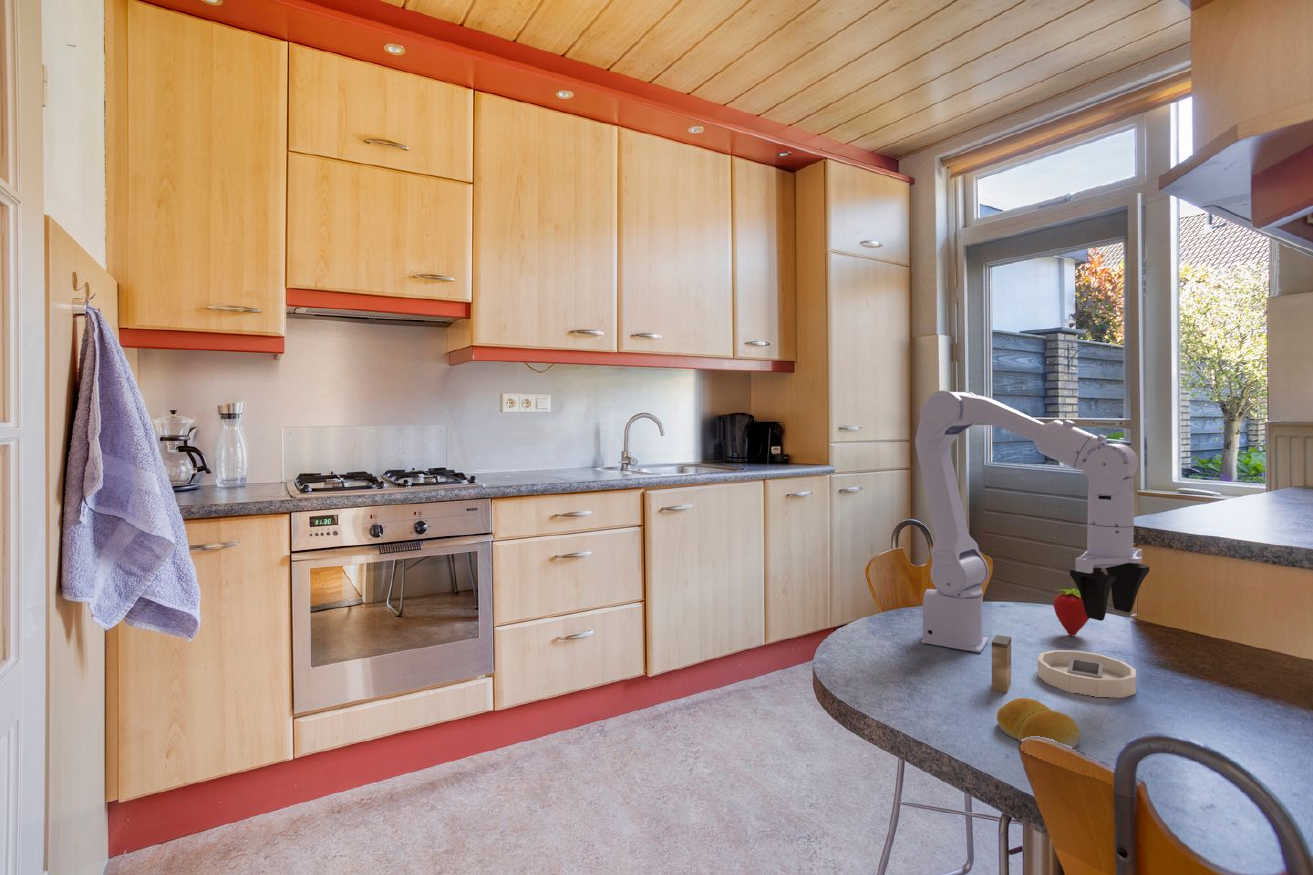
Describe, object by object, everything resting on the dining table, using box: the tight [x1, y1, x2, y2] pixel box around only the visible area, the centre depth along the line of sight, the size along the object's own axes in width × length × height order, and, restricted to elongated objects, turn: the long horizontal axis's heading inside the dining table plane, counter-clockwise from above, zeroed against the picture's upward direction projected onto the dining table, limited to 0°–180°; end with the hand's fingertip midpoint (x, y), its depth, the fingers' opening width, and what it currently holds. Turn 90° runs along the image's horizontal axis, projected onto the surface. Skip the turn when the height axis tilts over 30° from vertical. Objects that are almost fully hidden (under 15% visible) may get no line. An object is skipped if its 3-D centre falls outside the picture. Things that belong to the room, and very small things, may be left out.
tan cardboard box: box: [991, 634, 1012, 694], centre depth 99 cm, size 2×4×7 cm, turn 145°
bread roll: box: [996, 697, 1081, 749], centre depth 84 cm, size 8×9×4 cm
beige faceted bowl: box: [1037, 649, 1137, 699], centre depth 101 cm, size 12×12×2 cm
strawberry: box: [1053, 582, 1090, 637], centre depth 121 cm, size 6×8×10 cm
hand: (1109, 614), depth 101 cm, fingers open, 7 cm apart
